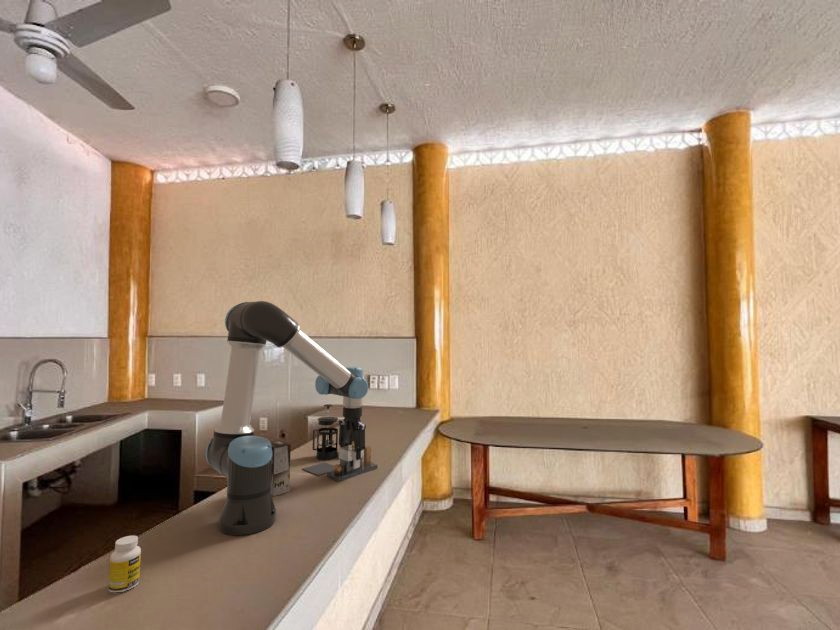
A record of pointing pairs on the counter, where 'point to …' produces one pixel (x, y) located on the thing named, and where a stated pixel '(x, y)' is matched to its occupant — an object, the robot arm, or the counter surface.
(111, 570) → the supplement bottle
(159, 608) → the counter surface
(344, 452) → the white box with knob
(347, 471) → the grey stand
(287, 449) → the coffee box
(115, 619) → the counter surface
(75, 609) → the counter surface
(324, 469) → the mat
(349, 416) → the robot arm
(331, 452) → the french press
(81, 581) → the counter surface
